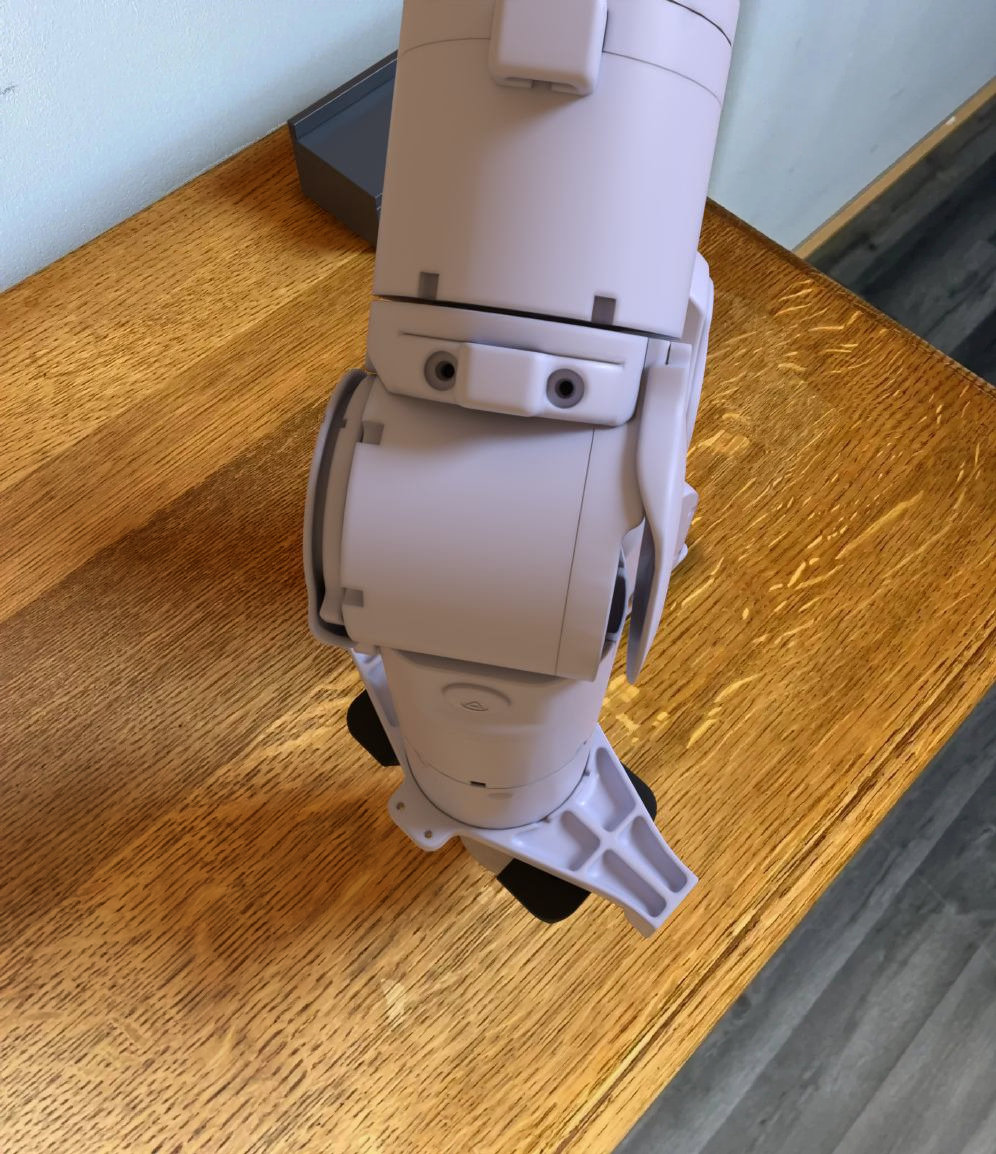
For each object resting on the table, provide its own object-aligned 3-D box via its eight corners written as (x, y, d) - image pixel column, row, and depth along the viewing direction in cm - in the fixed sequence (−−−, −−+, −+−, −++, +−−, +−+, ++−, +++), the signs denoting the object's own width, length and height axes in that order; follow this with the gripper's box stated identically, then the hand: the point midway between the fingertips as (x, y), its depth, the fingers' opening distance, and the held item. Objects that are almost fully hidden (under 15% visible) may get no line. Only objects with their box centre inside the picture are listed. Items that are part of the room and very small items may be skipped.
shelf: (526, 148, 61) (528, 75, 57) (382, 253, 57) (372, 183, 53) (445, 95, 64) (441, 19, 59) (302, 192, 60) (286, 120, 55)
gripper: (214, 614, 28) (298, 757, 40) (601, 1000, 24) (565, 1032, 36) (396, 463, 31) (424, 641, 43) (780, 788, 26) (690, 885, 38)
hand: (497, 811), depth 39 cm, fingers closed on fossil, 5 cm apart
